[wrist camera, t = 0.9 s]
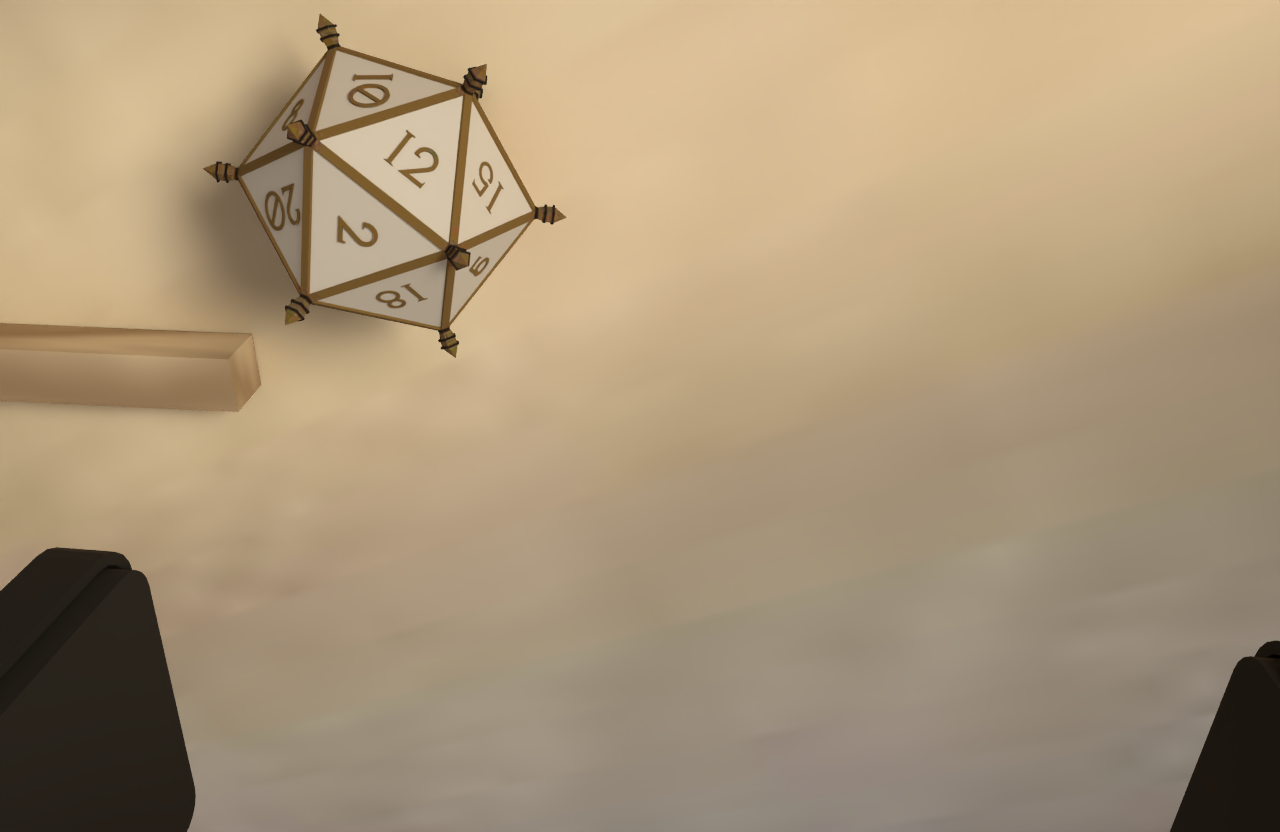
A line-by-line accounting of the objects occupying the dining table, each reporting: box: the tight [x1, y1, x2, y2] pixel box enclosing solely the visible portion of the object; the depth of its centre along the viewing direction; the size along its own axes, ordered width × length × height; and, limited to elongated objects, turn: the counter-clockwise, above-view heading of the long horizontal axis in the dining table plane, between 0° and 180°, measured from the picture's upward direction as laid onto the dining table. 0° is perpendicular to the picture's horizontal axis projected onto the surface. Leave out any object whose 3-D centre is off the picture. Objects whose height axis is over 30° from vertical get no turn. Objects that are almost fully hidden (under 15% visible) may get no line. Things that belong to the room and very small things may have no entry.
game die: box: [203, 14, 567, 358], centre depth 29 cm, size 9×8×10 cm
